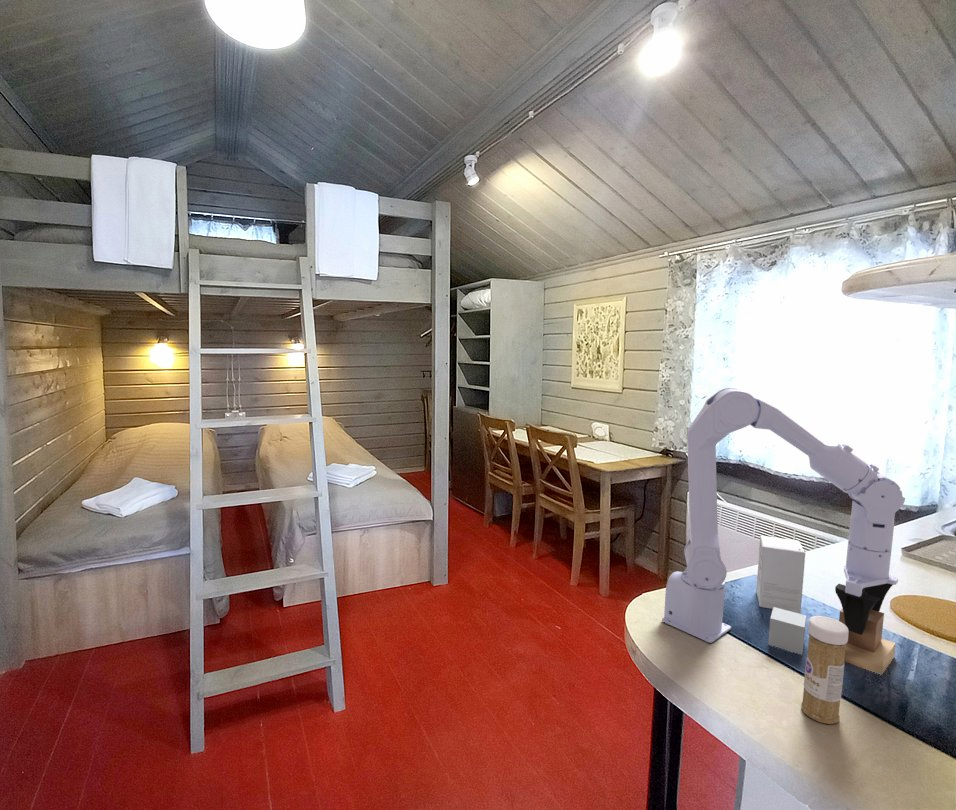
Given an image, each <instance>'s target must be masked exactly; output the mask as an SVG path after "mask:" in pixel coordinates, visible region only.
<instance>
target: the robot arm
mask: <svg viewBox="0 0 956 810" xmlns="http://www.w3.org/2000/svg"><path fill="white" fill-rule="evenodd" d="M748 426H751V427H753V428H754V429H759V430H767V431H768V430H769V431H771V432H772V433H774V434H776V435H777V436H778V437H780V438H782V440H784V441H785V442H787V443H789V444H790V445H791V446H793V447H794V448H796V449H797V450H799V451H801V453H803V454H805V455H806V456H807V457H808V459H809V467H810V468H811V470H813V471H815V473H817V474H819V475H820V476H821V477H823V478H824V479H826V480H827V481H828V482H829V483H831V484H832V485H834V486H835V487H836V488H837V489H839V490H841V491H842V492H844V493H845V494H848V496H849V498H850V499H852V501H851V514H850V519H849V530H848V538H847V541H848V542H847V550H846V560H845V565H844V566H843V567H844V568H843V573H844V575H845V578H846V580H845V584H841V583H838V584H837V585H836V586H835V594H836V595H837V597H838V599H839V602H840V604H841V607H842V608H843V613H844V618H845V624H846V626H847V628H848V630H849V631H851V632H854V633H857V634H860V635H862V634H863V632H864V630H865V628H866V625H867V621H868V618H869V615H870V612H871V610H875V611H878V612H881V608H882V605H883V602H884V600H885V598H886V596H887V593H888V592H889V590H890V589H891V588H892V587H893V586H895V585H897V584H898V582H899V578H897V577H896V576H892V575H890V568H891V567H890V566H891V559H892V558H891V556H892V549H893V541H894V540H893V538H894V529H895V517H896V513H897V512H898V511H899V510H900V509H902V507H903V505H904V504H905V502H906V497H904V496H903V492H902V490H901V487H900V485H899V484H898V483H896V482H895V481H894V480H892V479H890V478H888V477H886V476H884V475H882V474H880V472H879V470H880V468H879V467H877V466H876V465H874V464H873V463H871V464H868V463H867V462H866V461H864V460H862V459H861V458H859V457H858V456H856V455H855V454H854V453H852V452H853V451H854V449H853V448H852V447H850V445H847V444H846V443H843V444H840V443H838V442H836V441H834V442H833V441H831V442H822V441H821V440H820V439H818V438H817V437H815V436H814V435H813V434H811V432H809V431H808V430H806V429H805V428H803V427H802V426H801V425H799V423H797V422H796V421H794V420H793V419H791V418H790V417H789V416H788V415H786V414H785V413H784V412H783V411H781V410H780V409H778V408H777V407H775V406H773V405H771V404H769V403H766V402H765V401H763V400H760V399H758V398H756V397H754V396H753V395H752V394H750V393H749V392H746V391H743V390H740V389H738V388H735V387H725V388H722V389H720V390H719V391H717V392H715V393H714V394H713V395H711V396H710V397H708V398H707V399H706V401H705V402H704V405H703V406H702V408H701V410H700V411H699V412H698V414H697V415H696V417H695V418H694V419H693V421H692V423H691V425H690V426H689V427H688V429H687V432H686V440H687V442H686V443H687V444H686V445H687V447H686V448H687V473H688V475H687V476H688V477H687V478H688V479H687V480H688V507H689V509H688V511H689V513H688V514H689V515H688V516H689V529H688V535H689V536H688V541H687V542H686V545H685V546H684V549H683V554H684V558H685V563H686V568H685V569H684V571H677V570H676V571H674V572H672V573H671V575H670V576H669V577H668V579H667V582H666V587H665V597H664V598H665V599H664V614H663V617H662V618H661V621H662V623H664V622H665V624H666V625H669V626H671V627H674V628H676V629H678V630H680V631H683V632H684V633H687V634H689V635H691V636H693V637H696V638H698V639H700V640H702V641H704V642H706V643H710V644H711V643H713V642H715V641H716V640H719V638H720V637H722V636H724V634H726V633H727V632H729V631H730V630H732V626H731V625H729V624H726V623H724V622H723V616H724V614H723V613H724V601H725V585H726V581H725V580H726V579H727V574H728V573H727V567H726V564H725V563H724V561H723V559H722V556H721V549H720V547H721V546H720V540H719V539H720V538H719V530H718V526H719V524H718V522H719V521H718V520H719V519H718V487H717V481H718V480H717V454H716V453H717V451H716V450H717V449H716V446H717V444H718V443H720V442H721V441H722V440H724V438H726V437H727V436H728V435H730V433H733V432H736V431H738V430H741V429H744V428H747V427H748ZM842 608H841V609H842Z"/></svg>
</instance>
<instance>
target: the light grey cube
mask: <svg viewBox="0 0 956 810" xmlns="http://www.w3.org/2000/svg"><path fill="white" fill-rule="evenodd" d="M806 623H807V614H806V615H805V614H802V613H801V614H799V613H795V612H791V611H787V610H784V609H780V608H776V607H773V609H772V611H771V615H770V618H769V632H768V644H772V645H774V646H777V647H781V648H783V649H786V650H789V651H792V652H791V653H793V652H795V653H794V654H796V653H798V654H797V655H799V654H801V655H800V656H803V653H802V652H803V651H804V646H803V645H804V644H805V635H806ZM768 644H767V645H768ZM783 649H782V650H783ZM786 650H785V651H786ZM789 651H788V652H789Z"/></svg>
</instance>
